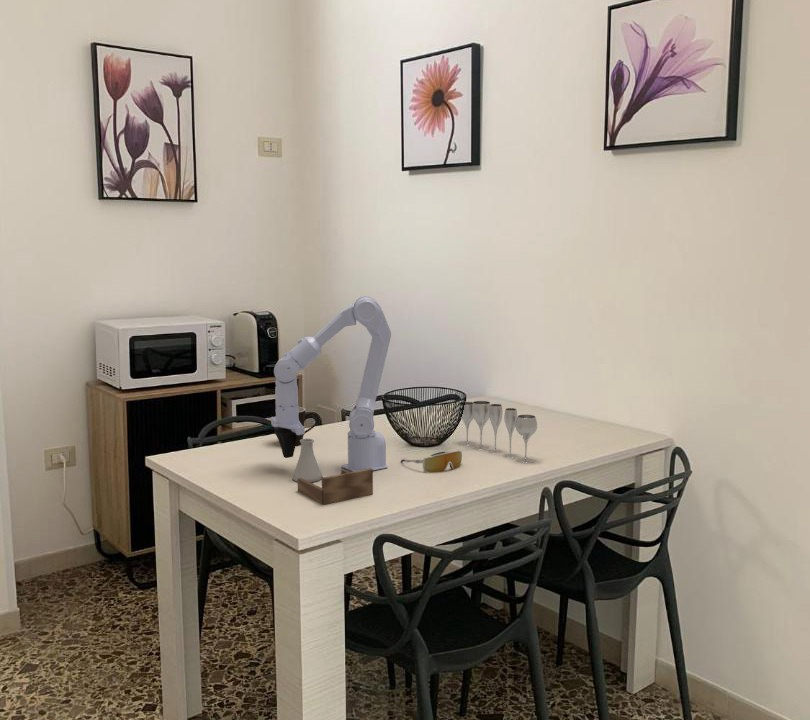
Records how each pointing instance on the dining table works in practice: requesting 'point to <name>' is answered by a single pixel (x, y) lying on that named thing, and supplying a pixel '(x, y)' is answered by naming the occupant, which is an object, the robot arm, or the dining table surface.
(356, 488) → the shelf bay
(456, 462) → the sunglasses
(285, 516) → the dining table surface
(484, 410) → the goblet set
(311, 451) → the flask
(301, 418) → the coffee mug
